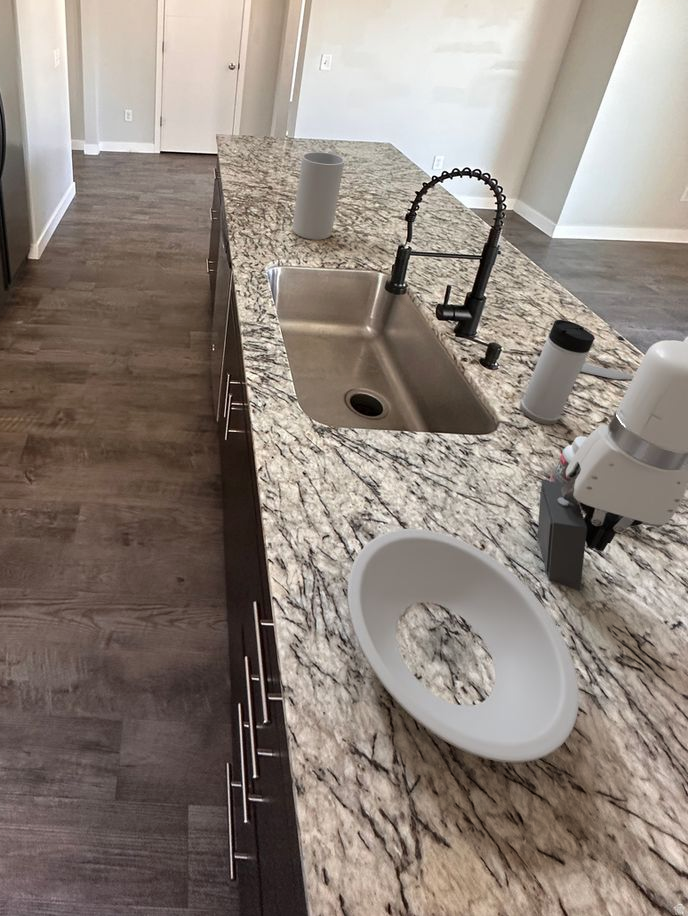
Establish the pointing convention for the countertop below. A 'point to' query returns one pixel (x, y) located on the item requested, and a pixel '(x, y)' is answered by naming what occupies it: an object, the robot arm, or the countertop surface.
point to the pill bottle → (566, 461)
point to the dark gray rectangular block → (561, 536)
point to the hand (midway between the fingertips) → (591, 539)
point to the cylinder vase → (317, 195)
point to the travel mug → (556, 371)
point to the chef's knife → (603, 371)
